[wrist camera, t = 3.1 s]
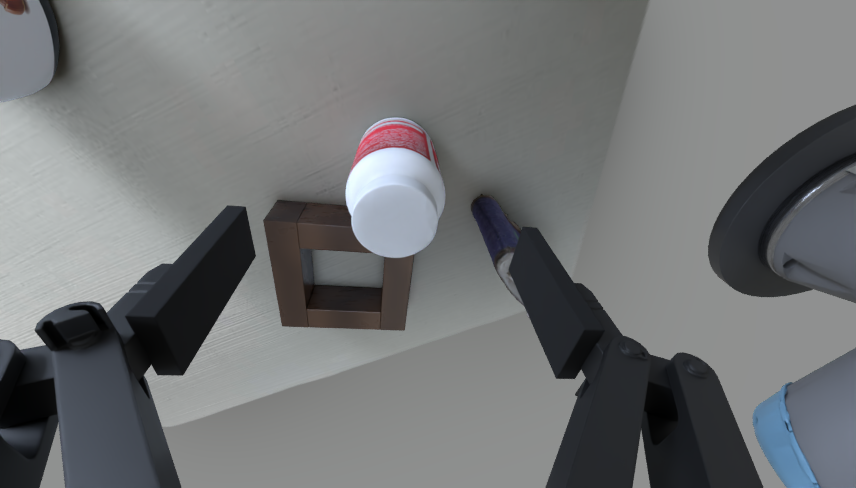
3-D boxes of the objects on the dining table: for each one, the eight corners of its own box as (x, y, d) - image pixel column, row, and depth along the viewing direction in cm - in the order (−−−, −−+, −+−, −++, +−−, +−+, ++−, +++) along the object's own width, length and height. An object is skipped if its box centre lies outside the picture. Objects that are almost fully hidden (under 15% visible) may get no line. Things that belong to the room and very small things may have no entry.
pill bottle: (342, 148, 26) (310, 216, 17) (402, 98, 24) (402, 143, 15) (393, 203, 29) (389, 285, 20) (449, 161, 27) (473, 231, 18)
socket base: (415, 211, 30) (417, 231, 27) (404, 306, 36) (404, 330, 33) (277, 200, 28) (263, 220, 25) (292, 301, 35) (281, 326, 32)
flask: (540, 249, 33) (590, 332, 24) (515, 265, 34) (555, 351, 25) (487, 187, 29) (524, 260, 20) (461, 207, 30) (485, 286, 21)
